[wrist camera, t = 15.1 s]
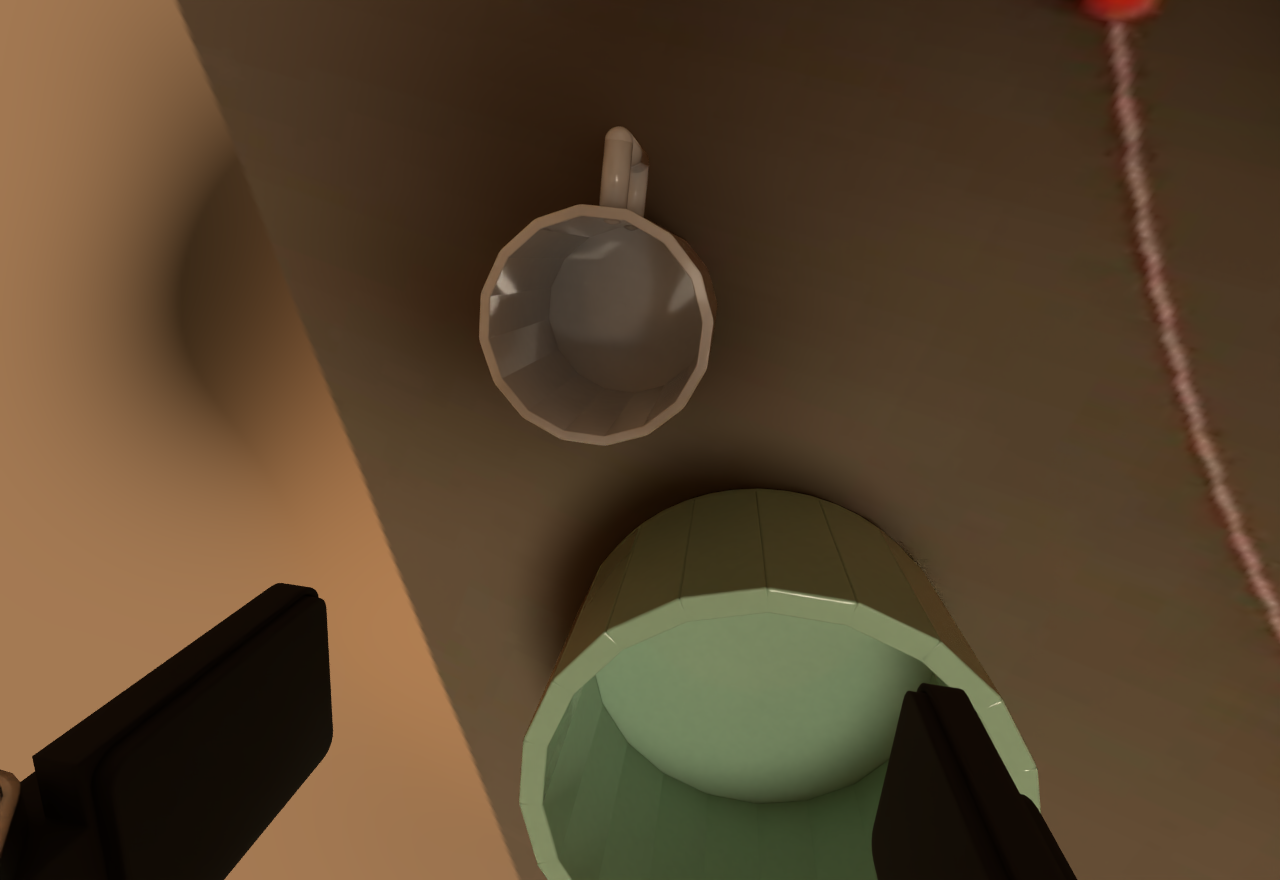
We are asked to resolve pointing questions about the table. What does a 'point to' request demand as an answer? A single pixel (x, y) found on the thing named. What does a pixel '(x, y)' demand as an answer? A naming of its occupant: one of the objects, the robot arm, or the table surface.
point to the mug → (599, 313)
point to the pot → (740, 697)
